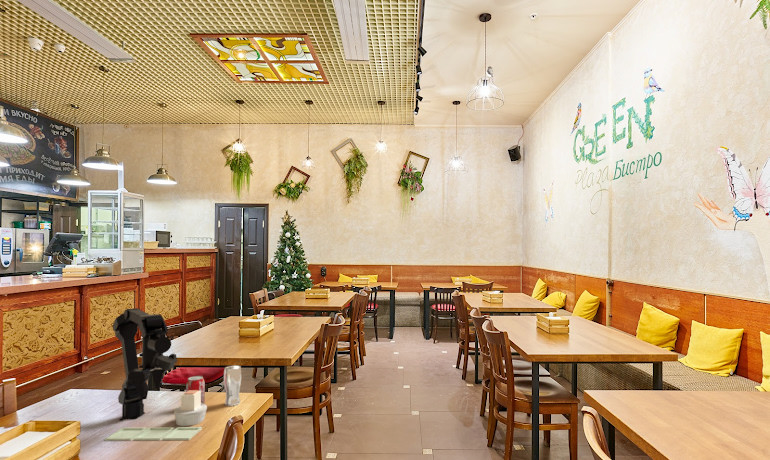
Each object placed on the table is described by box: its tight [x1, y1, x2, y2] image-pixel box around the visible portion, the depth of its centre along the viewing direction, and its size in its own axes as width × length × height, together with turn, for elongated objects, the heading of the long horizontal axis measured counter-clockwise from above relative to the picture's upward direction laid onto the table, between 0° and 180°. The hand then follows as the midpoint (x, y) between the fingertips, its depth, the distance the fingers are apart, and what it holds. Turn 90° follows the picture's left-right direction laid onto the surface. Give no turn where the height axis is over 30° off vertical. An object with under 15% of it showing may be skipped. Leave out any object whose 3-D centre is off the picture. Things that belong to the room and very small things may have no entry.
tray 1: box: [104, 426, 148, 442], centre depth 145 cm, size 9×9×1 cm
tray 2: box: [133, 426, 175, 441], centre depth 145 cm, size 9×9×1 cm
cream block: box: [180, 390, 201, 411], centre depth 157 cm, size 5×5×6 cm
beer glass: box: [223, 364, 242, 407], centre depth 176 cm, size 7×7×15 cm
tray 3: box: [162, 426, 203, 441], centre depth 144 cm, size 9×9×1 cm
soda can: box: [185, 375, 206, 404], centre depth 172 cm, size 7×7×12 cm
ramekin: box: [173, 403, 208, 427], centre depth 156 cm, size 11×11×5 cm
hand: (150, 392), depth 153 cm, fingers open, 9 cm apart
